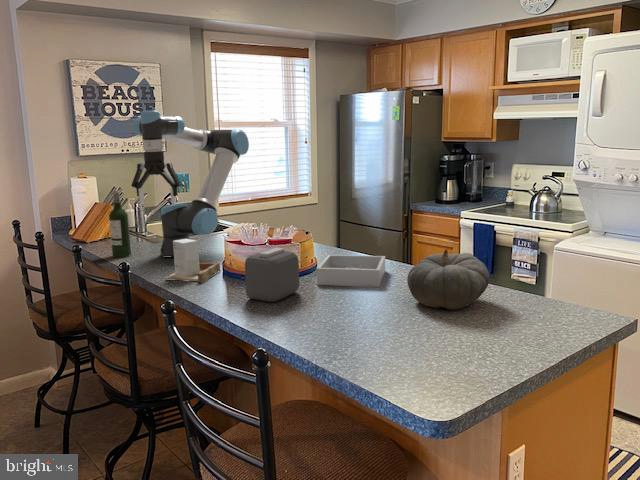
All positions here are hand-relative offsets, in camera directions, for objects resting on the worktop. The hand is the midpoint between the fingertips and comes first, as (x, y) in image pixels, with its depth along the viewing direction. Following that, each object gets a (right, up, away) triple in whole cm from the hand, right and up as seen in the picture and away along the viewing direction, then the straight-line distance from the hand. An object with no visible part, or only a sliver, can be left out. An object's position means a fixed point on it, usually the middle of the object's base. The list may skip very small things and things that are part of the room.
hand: (158, 204), depth 221 cm
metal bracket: (+78, -30, -21) cm, 86 cm away
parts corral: (+77, -28, -16) cm, 84 cm away
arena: (+15, -28, -9) cm, 33 cm away
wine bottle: (-25, -22, +31) cm, 45 cm away
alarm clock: (+50, -33, -37) cm, 71 cm away
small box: (+14, -27, -9) cm, 32 cm away
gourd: (+105, -34, -49) cm, 121 cm away
